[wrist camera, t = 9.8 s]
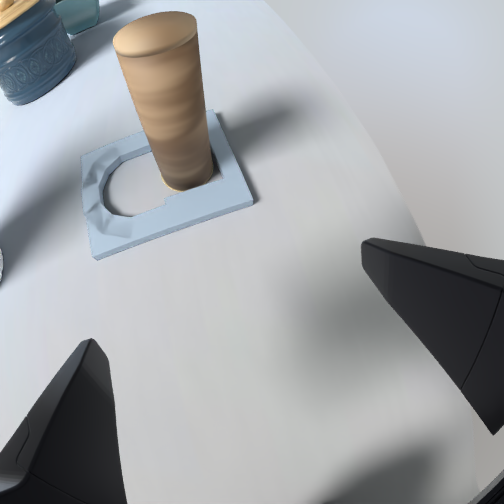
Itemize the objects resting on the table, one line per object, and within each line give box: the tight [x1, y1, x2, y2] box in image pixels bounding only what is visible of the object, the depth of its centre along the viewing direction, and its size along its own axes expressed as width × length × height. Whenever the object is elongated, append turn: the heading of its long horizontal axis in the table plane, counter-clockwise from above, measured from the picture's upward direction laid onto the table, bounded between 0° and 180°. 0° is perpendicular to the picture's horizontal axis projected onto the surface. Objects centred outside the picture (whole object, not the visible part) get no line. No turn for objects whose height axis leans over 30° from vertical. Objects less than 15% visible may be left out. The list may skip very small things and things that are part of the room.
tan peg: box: [113, 11, 213, 191], centre depth 19 cm, size 5×5×14 cm
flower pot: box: [54, 0, 99, 35], centre depth 31 cm, size 9×9×9 cm
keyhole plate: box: [81, 109, 253, 260], centre depth 25 cm, size 14×11×1 cm
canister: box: [0, 0, 76, 105], centre depth 22 cm, size 13×13×18 cm
